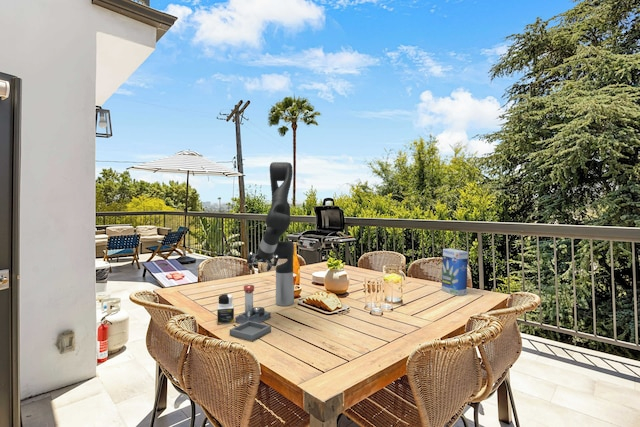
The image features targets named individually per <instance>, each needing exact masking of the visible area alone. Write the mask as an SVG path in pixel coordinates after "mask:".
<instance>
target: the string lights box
mask: <svg viewBox="0 0 640 427" xmlns="http://www.w3.org/2000/svg"><path fill="white" fill-rule="evenodd" d="M468 260H469V251H465V250H461V249H455V248H451V247H450V248H449V247H448V248H442V264H441V266H442V270H441V291H442V292H445V293H449V294H451V295H454V296H457V297H459V296H465V295H467V290H468V289H467V286H468V284H467V282H468Z"/></svg>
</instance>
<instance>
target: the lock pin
mask: <svg viewBox="0 0 640 427" xmlns="http://www.w3.org/2000/svg"><path fill="white" fill-rule="evenodd" d="M254 291H255V285H254V284H247V285H246V284H245V285H243V292H244V313H245V316H248V317H250V316H252V315H253V307H254Z"/></svg>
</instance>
